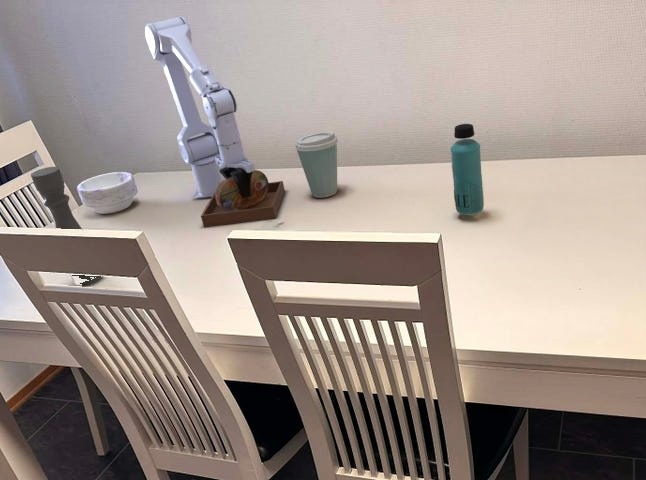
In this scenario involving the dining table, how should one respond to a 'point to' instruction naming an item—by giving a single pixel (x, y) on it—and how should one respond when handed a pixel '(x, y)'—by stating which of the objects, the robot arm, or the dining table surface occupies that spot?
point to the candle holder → (58, 203)
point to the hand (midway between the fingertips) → (242, 195)
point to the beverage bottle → (467, 171)
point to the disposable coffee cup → (319, 162)
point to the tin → (231, 196)
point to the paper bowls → (108, 192)
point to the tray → (253, 213)
